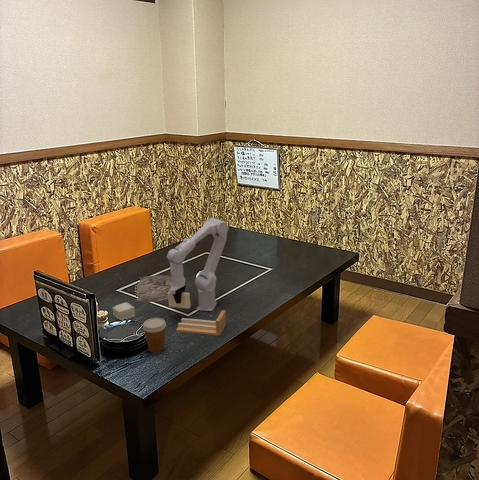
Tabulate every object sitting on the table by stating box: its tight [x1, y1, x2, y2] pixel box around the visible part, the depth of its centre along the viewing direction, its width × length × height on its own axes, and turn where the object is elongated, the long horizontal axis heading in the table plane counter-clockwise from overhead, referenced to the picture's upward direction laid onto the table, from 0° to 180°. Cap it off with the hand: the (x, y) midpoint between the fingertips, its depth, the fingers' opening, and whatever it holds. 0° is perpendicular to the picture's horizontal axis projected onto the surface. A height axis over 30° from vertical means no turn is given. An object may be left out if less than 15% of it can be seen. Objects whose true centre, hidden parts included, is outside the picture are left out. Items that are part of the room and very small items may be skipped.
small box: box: [112, 302, 136, 321], centre depth 221 cm, size 8×8×5 cm
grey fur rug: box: [134, 274, 171, 303], centre depth 253 cm, size 33×35×1 cm
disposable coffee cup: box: [142, 317, 167, 353], centre depth 192 cm, size 10×10×12 cm
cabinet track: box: [175, 310, 227, 336], centre depth 208 cm, size 10×20×7 cm, turn 76°
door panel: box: [167, 291, 191, 309], centre depth 217 cm, size 2×10×7 cm, turn 76°
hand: (179, 301), depth 217 cm, fingers closed on door panel, 2 cm apart
